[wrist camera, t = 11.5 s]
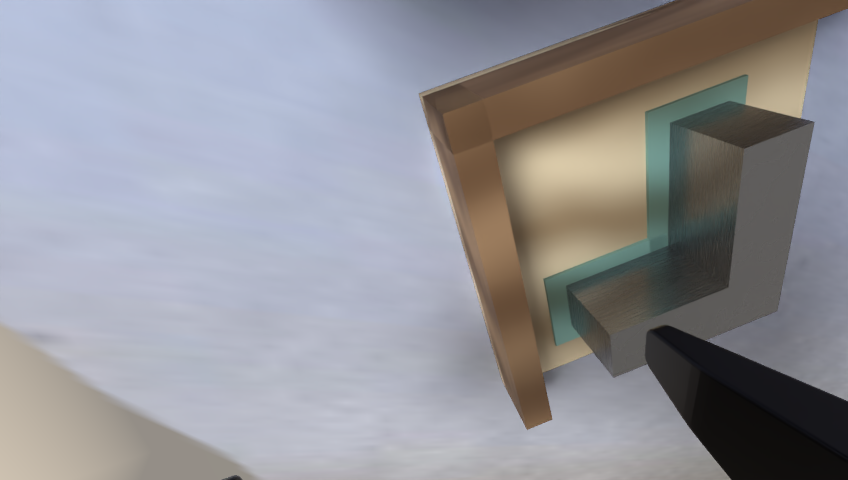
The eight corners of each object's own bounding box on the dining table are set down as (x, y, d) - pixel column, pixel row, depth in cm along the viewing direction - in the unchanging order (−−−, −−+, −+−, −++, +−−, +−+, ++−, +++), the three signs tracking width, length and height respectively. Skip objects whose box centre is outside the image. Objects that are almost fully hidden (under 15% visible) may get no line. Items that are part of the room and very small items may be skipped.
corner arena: (418, 93, 18) (442, 114, 15) (816, -51, 19) (916, -60, 16) (501, 380, 27) (527, 429, 24) (763, 275, 28) (819, 309, 25)
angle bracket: (714, 268, 25) (777, 311, 22) (571, 325, 25) (613, 377, 22) (728, 100, 20) (814, 122, 17) (549, 168, 20) (599, 204, 16)
